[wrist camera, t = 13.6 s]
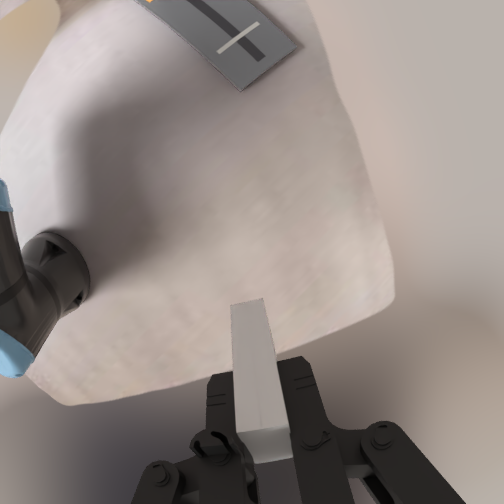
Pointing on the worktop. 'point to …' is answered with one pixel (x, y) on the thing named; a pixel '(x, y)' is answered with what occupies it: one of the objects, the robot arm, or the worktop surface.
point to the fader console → (226, 35)
